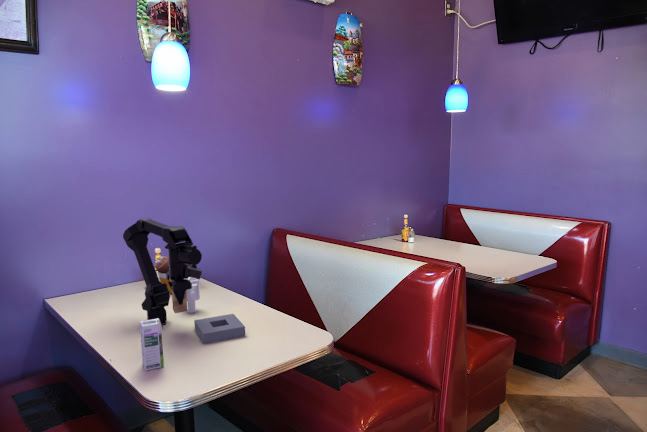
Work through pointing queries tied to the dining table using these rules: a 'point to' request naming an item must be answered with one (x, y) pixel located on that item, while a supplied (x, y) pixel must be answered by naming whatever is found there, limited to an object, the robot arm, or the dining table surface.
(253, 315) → the dining table surface
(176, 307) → the oak peg
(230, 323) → the socket block
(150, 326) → the syrup box
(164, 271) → the bucket of meat
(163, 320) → the robot arm
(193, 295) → the windowed cylinder housing
